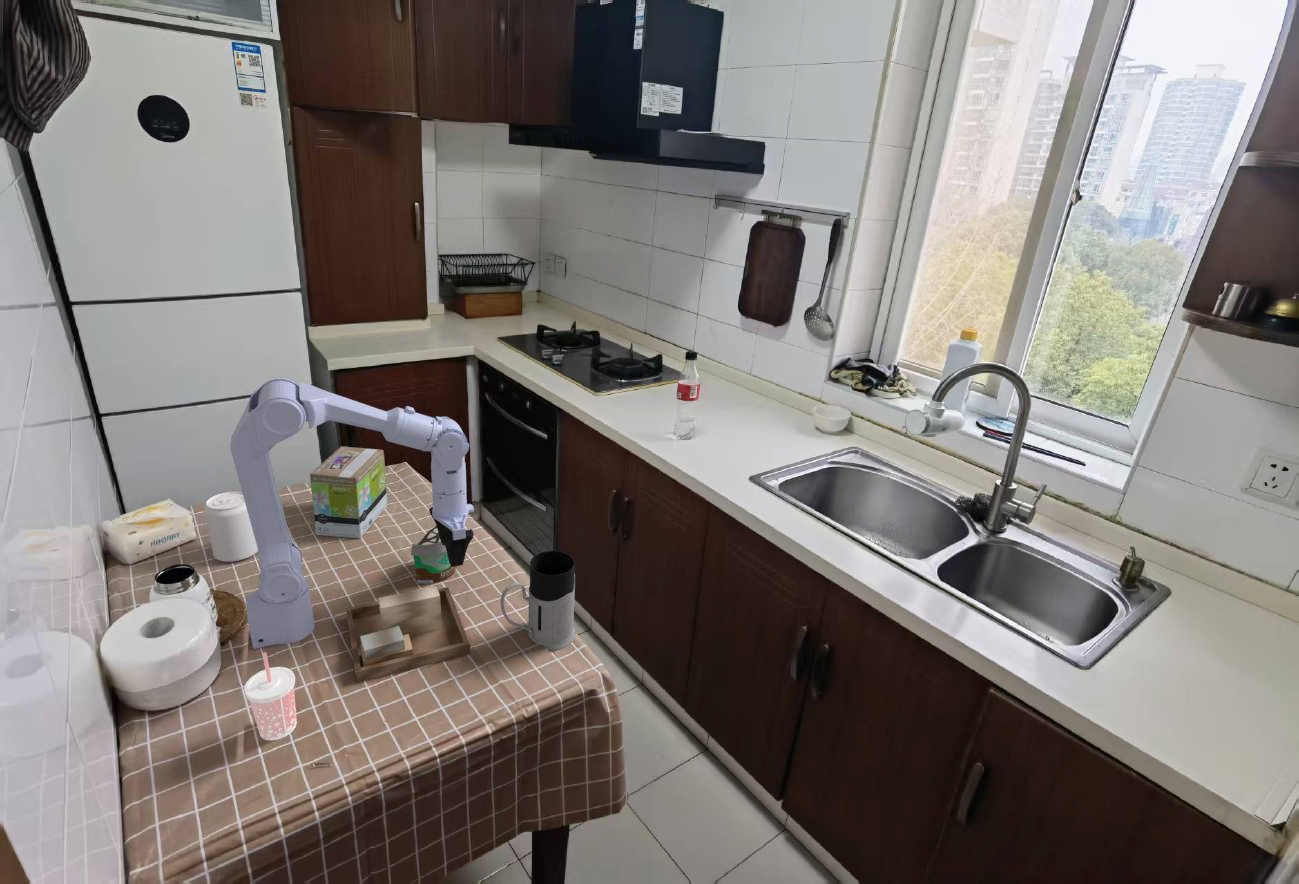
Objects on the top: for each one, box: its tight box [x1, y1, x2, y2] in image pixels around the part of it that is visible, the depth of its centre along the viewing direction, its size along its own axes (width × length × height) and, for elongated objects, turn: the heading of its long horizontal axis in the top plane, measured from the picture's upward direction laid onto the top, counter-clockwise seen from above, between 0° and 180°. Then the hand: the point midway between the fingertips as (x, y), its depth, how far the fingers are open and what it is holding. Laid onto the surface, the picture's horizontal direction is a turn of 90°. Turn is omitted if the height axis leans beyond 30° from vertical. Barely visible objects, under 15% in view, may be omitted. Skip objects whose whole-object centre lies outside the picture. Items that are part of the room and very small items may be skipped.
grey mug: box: [500, 550, 577, 652], centre depth 114 cm, size 9×14×15 cm, turn 132°
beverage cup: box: [243, 651, 298, 741], centre depth 93 cm, size 6×6×14 cm
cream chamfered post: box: [378, 585, 442, 637], centre depth 115 cm, size 10×3×7 cm, turn 117°
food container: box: [410, 525, 457, 585], centre depth 131 cm, size 12×6×10 cm, turn 168°
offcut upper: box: [360, 626, 405, 661], centre depth 108 cm, size 6×4×2 cm, turn 121°
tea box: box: [309, 446, 388, 539], centre depth 146 cm, size 15×10×15 cm
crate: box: [345, 586, 471, 684], centre depth 115 cm, size 18×17×3 cm
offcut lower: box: [360, 634, 413, 667], centre depth 109 cm, size 8×4×2 cm, turn 117°
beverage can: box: [203, 491, 258, 563], centre depth 132 cm, size 8×8×12 cm
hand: (452, 554), depth 122 cm, fingers open, 7 cm apart
